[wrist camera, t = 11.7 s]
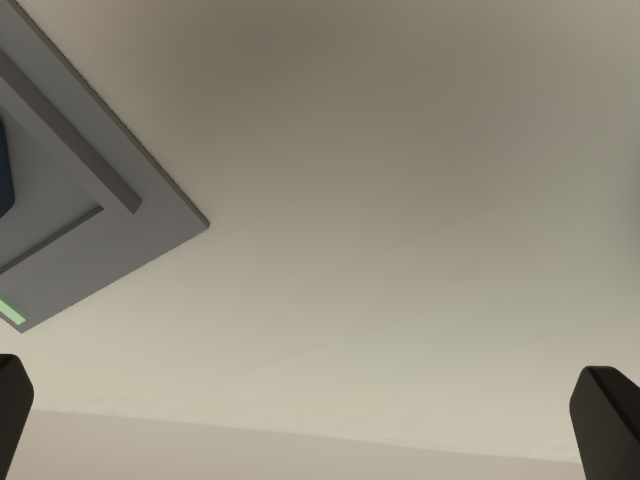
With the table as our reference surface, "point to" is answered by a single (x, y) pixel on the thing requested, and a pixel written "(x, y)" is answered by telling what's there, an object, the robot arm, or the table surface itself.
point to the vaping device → (5, 177)
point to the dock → (73, 184)
